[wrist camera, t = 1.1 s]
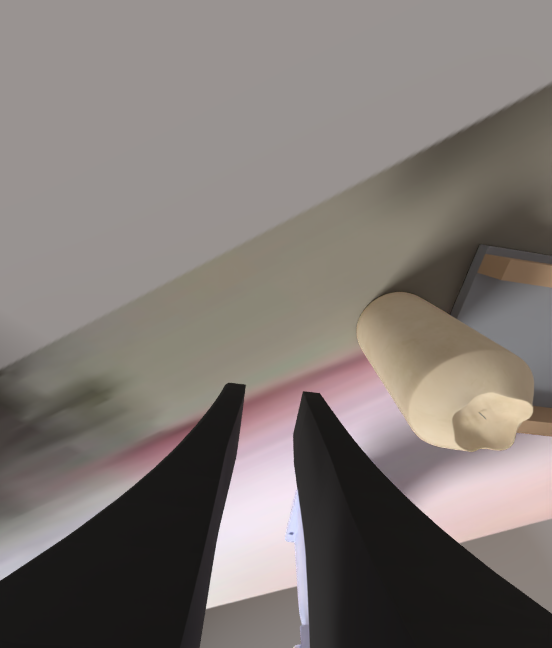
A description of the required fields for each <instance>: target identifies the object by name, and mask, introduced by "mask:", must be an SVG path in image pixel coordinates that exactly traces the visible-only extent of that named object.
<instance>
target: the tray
mask: <svg viewBox="0 0 552 648" xmlns="http://www.w3.org/2000/svg"><path fill="white" fill-rule="evenodd" d="M450 315H451V316H452V317H454V318H456V319H457V320H459V321H461V322H462V323H464V324H466V325H467V326H469V327H471V328H472V329H474V330H476V331H477V332H479V333H481V334H482V335H484V336H486V337H487V338H489V339H491V340H492V341H494V342H495V343H497V344H499V345H500V346H502V347H504V348H505V349H507V350H509V351H510V352H512V353H514V354H515V355H517V356H518V357H520V358H521V359H522V360H524V361H525V363H526V364H527V365H528V366H529V368H530V370H531V372H532V374H533V378H534V396H533V403H532V404H533V413H532V416H531V417H530V418H529V419H527V420H525V421H523V422H522V424H521V425H520V426H519V428H518V430H517V432H516V433H525V434H534V435H543V436H552V256H551V255H545V254H538V253H532V252H526V251H519V250H513V249H507V248H501V247H494V246H488V245H482V244H480V245H479V248H478V250H477V252H476V255H475V257H474V260H473V262H472V264H471V267H470V269H469V271H468V274H467V276H466V278H465V281H464V283H463V285H462V288H461V290H460V293H459V295H458V297H457V300H456V302H455V304H454V307H453V309H452V311H451V314H450Z"/></svg>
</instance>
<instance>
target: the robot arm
mask: <svg viewBox="0 0 552 648" xmlns="http://www.w3.org/2000/svg"><path fill="white" fill-rule="evenodd" d="M245 387H246V385H244V384H235V383H227V384H226V385H225V386H224V388H223V390H222V392H221V393H220V395H219V396H218V398H217V399H216V401H215V402H214V403H213V405H212V406H211V408H210V409H209V410H208V411H207V413H206V414H205V415H204V416H203V418H202V419H201V420H200V421H199V422H198V424H197V425H196V426H195V427H194V428H193V429H192V430H191V432H190V433H189V434H188V435H187V436H186V437H185V438H184V439H183V440H182V441H181V442H180V444H179V445H178V446H177V447H176V448H175V449H174V450H173V451H172V452H171V453H170V454H169V455H168V456H167V457H165V458H164V459H163V460H162V461H161V462H160V463H159V464H158V465H157V466H156V467H155V468H154V469H153V470H151V471H150V472H149V473H148V474H147V475H146V476H144V477H143V478H142V479H141V480H140V481H139V482H137V483H136V484H135V485H134V486H133V487H132V488H130V489H129V490H128V491H127V492H125V493H124V494H123V495H122V496H120V497H119V498H118V499H117V500H115V501H114V502H113V503H111V504H110V505H109V506H107V507H106V508H105V509H103V510H102V511H101V512H99V513H98V514H97V515H95V516H94V517H93V518H91V519H90V520H89V521H87V522H86V523H85V524H83V525H82V526H81V527H79V528H78V529H77V530H75V531H74V532H72V533H71V534H70V535H68V536H67V537H65V538H64V539H62V540H61V541H59V542H58V543H56V544H55V545H53V546H52V547H50V548H49V549H47V550H46V551H44V552H43V553H41V554H40V555H38V556H37V557H35V558H34V559H32V560H31V561H29V562H28V563H26V564H25V565H23V566H22V567H20V568H19V569H17V570H16V571H14V572H13V573H11V574H10V575H8V576H7V577H5V578H4V579H2V580H1V581H0V648H199V647H200V641H201V634H202V629H203V621H204V616H205V610H206V604H207V597H208V591H209V585H210V579H211V572H212V566H213V560H214V554H215V548H216V542H217V537H218V532H219V527H220V523H221V518H222V514H223V510H224V506H225V502H226V498H227V493H228V489H229V485H230V481H231V477H232V473H233V468H234V464H235V460H236V455H237V448H238V441H239V434H240V427H241V419H242V411H243V403H244V395H245ZM293 447H294V467H295V474H296V482H297V492H296V496H295V499H294V503H293V507H292V511H291V515H290V519H289V522H288V526H287V530H286V534H285V540H286V541H288V542H295V557H296V572H297V587H298V602H299V613H300V618H301V622H302V625H301V626H300V634H301V635H300V636H301V645H296V646H294V647H293V648H552V614H551V613H550V612H549V611H547V610H546V609H545V608H543V607H542V606H540V605H539V604H538V603H536V602H535V601H534V600H532V599H531V598H529V597H528V596H527V595H525V594H524V593H523V592H521V591H520V590H519V589H517V588H516V587H515V586H513V585H512V584H510V583H509V582H508V581H506V580H505V579H504V578H502V577H501V576H499V575H498V574H496V573H495V572H494V571H493V570H492V569H490V568H489V567H488V566H486V565H485V564H484V563H483V562H481V561H480V560H479V559H478V558H476V557H475V556H474V555H473V554H471V553H470V552H469V551H467V550H466V549H465V548H464V547H463V546H461V545H460V544H459V543H458V542H456V541H455V540H454V539H453V538H452V537H451V536H449V535H448V534H447V533H446V532H445V531H443V530H442V529H441V528H440V527H439V526H438V525H436V524H435V523H434V522H433V521H432V520H431V519H430V518H429V517H428V516H426V515H425V514H424V513H423V512H422V511H421V510H420V509H419V508H418V507H416V506H415V505H414V504H413V503H412V502H411V501H410V500H409V499H408V498H407V497H406V496H405V495H404V494H403V493H402V492H401V491H400V490H399V489H398V488H397V487H396V486H395V485H394V484H393V483H392V482H391V481H390V480H389V479H388V478H387V477H386V476H385V475H384V474H383V473H382V472H381V471H380V470H379V469H378V468H377V467H376V465H375V464H374V463H373V462H372V461H371V460H370V459H369V457H368V456H367V455H366V454H365V453H364V452H363V450H362V449H361V448H360V447H359V446H358V444H357V443H356V442H355V441H354V439H353V438H352V437H351V436H350V434H349V433H348V432H347V430H346V429H345V428H344V426H343V425H342V424H341V422H340V421H339V420H338V418H337V417H336V415H335V414H334V413H333V411H332V410H331V408H330V407H329V406H328V404H327V403H326V401H325V400H324V398H323V397H322V396H321V394H320V393H313V392H305V391H303V394H302V398H301V403H300V407H299V411H298V416H297V420H296V425H295V429H294V434H293Z"/></svg>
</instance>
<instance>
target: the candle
mask: <svg viewBox="0 0 552 648" xmlns="http://www.w3.org/2000/svg"><path fill="white" fill-rule="evenodd" d="M356 333H357V339H358V343H359V345H360V347H361V349H362V350H363V352H364V354H365V355H366V357H367V359H368V360H369V362H370V363H371V365H372V367H373V368H374V370H375V371H376V373H377V374H378V376H379V378H380V379H381V381H382V382H383V384H384V386H385V387H386V389H387V390H388V392H389V394H390V395H391V397H392V398H393V400H394V402H395V403H396V405H397V406H398V408H399V409H400V411H401V413H402V414H403V416H404V417H405V419H406V421H407V422H408V424H409V425H410V427H411V428H412V430H413V432H414V433H415V434H416V435H417V436H418V437H419V438H420V439H422V440H423V441H425V442H427V443H429V444H431V445H434V446H438V447H442V448H448V449H455V450H463V451H468V452H474V451H476V450H479V449H491V450H499V451H502V450H506V449H508V448H510V447H511V446H512V444H513V443H514V440H515V437H516V432H517V430H518V428H519V426H520V425H521V424H522V422H523V421H525V420H527V419H529V418H530V417H531V416H532V413H533V404H532V403H533V396H534V378H533V374H532V372H531V370H530V368H529V366H528V365H527V364H526V363H525V361H524V360H522V359H521V358H520V357H518V356H517V355H515V354H514V353H512V352H510V351H509V350H507V349H505V348H504V347H502V346H500V345H499V344H497V343H495V342H494V341H492V340H491V339H489V338H487V337H486V336H484V335H482V334H481V333H479V332H477V331H476V330H474V329H472V328H471V327H469V326H467V325H466V324H464V323H462V322H461V321H459V320H457V319H456V318H454V317H452V316H451V315H449V314H447V313H446V312H444V311H443V310H441V309H439V308H438V307H436V306H434V305H433V304H431V303H429V302H428V301H426V300H424V299H422V298H420V297H419V296H417V295H414V294H411V293H406V292H393V293H389V294H385V295H383V296H381V297H379V298H377V299H375V300H374V301H373V302H371V303H370V304H369V305H368V306H367V307H366V308H365V309H364V311H363V312H362V314H361V316H360V318H359V320H358V323H357V330H356Z"/></svg>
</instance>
